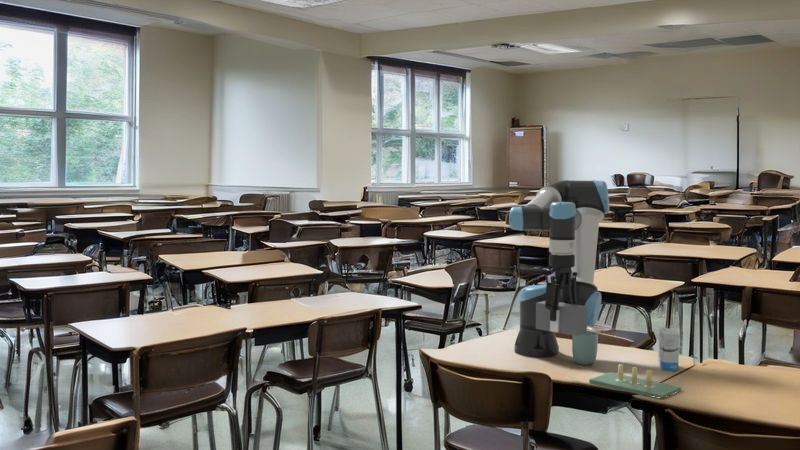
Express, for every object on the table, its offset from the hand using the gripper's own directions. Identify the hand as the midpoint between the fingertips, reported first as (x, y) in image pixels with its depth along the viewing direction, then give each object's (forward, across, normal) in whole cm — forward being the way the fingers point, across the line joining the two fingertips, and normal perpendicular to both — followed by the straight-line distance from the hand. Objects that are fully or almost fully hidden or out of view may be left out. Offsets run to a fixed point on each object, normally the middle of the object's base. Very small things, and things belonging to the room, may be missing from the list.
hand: (560, 329), depth 214 cm
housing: (0, 0, 0) cm, 0 cm away
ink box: (+15, +34, -18) cm, 41 cm away
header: (+14, +6, -21) cm, 26 cm away
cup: (+15, +19, +3) cm, 24 cm away
